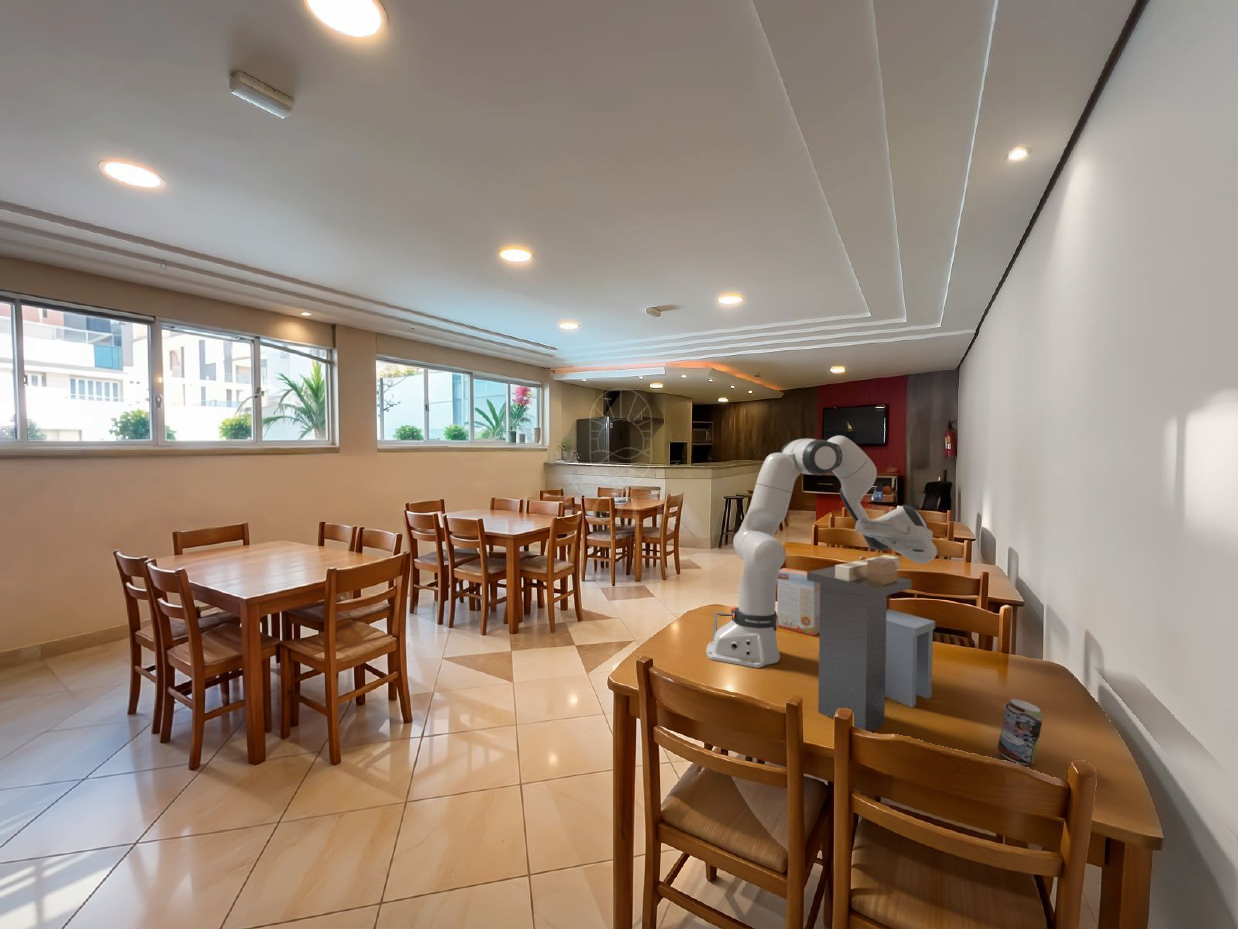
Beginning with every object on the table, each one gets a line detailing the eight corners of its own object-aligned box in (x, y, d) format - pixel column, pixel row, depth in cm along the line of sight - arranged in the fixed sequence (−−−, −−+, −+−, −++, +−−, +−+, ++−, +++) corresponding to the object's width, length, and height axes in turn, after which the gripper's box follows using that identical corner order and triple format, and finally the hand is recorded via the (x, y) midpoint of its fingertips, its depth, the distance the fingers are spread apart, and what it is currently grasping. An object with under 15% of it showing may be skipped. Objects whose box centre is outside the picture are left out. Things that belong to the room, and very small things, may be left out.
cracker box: (821, 632, 181) (822, 573, 180) (813, 637, 176) (814, 576, 176) (784, 622, 191) (785, 566, 190) (776, 626, 186) (777, 569, 186)
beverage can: (990, 752, 109) (991, 696, 109) (1022, 750, 110) (1023, 695, 110) (1015, 770, 103) (1017, 711, 103) (1049, 768, 104) (1051, 710, 103)
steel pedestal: (838, 693, 135) (840, 546, 134) (908, 723, 121) (911, 558, 119) (805, 708, 128) (807, 551, 126) (875, 742, 113) (878, 565, 112)
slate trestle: (887, 680, 143) (888, 609, 143) (933, 697, 133) (935, 621, 133) (867, 689, 138) (868, 615, 137) (913, 708, 128) (915, 628, 127)
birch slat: (885, 566, 133) (885, 554, 133) (899, 569, 130) (899, 557, 130) (834, 578, 121) (835, 565, 121) (848, 581, 118) (849, 568, 118)
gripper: (871, 524, 165) (847, 509, 158) (939, 532, 148) (916, 515, 141) (866, 542, 164) (842, 528, 157) (934, 553, 146) (910, 537, 140)
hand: (877, 522), depth 149 cm, fingers open, 8 cm apart
